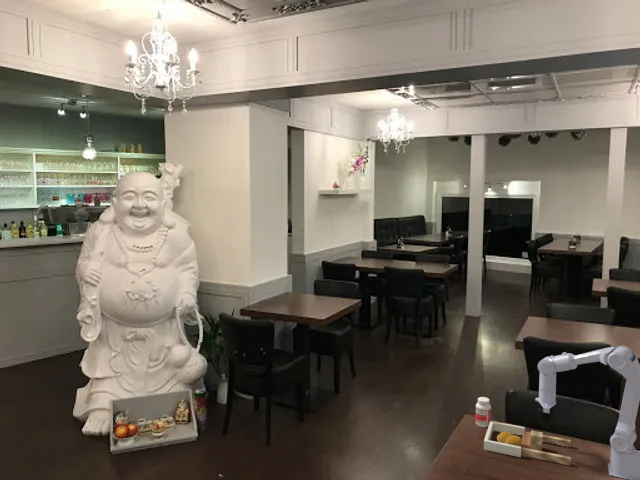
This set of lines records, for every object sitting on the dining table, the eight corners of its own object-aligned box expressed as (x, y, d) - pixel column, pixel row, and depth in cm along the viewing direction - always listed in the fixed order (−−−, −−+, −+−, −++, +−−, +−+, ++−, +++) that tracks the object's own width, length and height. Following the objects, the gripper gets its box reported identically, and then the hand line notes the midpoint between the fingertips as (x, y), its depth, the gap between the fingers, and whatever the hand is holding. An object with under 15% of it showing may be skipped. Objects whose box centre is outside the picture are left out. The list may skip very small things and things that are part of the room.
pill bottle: (485, 420, 216) (486, 395, 215) (493, 426, 210) (494, 401, 209) (472, 421, 214) (473, 397, 213) (480, 428, 208) (480, 403, 207)
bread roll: (514, 452, 190) (514, 442, 190) (493, 442, 197) (494, 432, 197) (526, 445, 195) (527, 435, 195) (506, 436, 202) (506, 426, 202)
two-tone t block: (542, 444, 195) (542, 429, 194) (541, 455, 187) (541, 440, 186) (522, 440, 198) (523, 426, 198) (521, 451, 190) (521, 436, 190)
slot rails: (570, 446, 193) (570, 439, 193) (570, 465, 180) (570, 459, 180) (525, 437, 201) (525, 431, 200) (522, 455, 187) (522, 449, 187)
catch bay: (524, 435, 202) (524, 427, 202) (520, 457, 186) (520, 448, 186) (490, 428, 208) (490, 420, 208) (483, 449, 192) (483, 440, 191)
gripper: (536, 380, 198) (535, 413, 200) (535, 394, 185) (534, 429, 187) (556, 383, 195) (555, 416, 197) (556, 397, 182) (555, 433, 184)
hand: (546, 423), depth 192 cm, fingers open, 7 cm apart
